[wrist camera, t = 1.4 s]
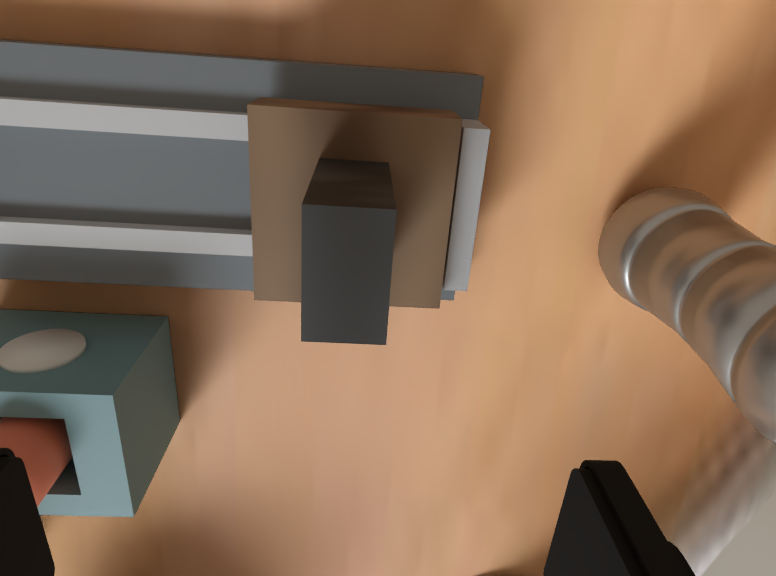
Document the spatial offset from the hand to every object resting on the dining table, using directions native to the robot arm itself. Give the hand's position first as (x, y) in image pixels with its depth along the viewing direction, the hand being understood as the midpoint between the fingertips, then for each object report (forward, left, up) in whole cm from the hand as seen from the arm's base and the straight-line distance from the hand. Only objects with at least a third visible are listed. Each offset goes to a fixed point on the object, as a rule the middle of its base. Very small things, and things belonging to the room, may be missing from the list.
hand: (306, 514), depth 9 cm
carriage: (0, 0, -20) cm, 20 cm away
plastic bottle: (-17, +2, -23) cm, 29 cm away
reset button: (+16, +13, -18) cm, 27 cm away
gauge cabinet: (+16, +13, -23) cm, 30 cm away
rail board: (+8, 0, -23) cm, 24 cm away
